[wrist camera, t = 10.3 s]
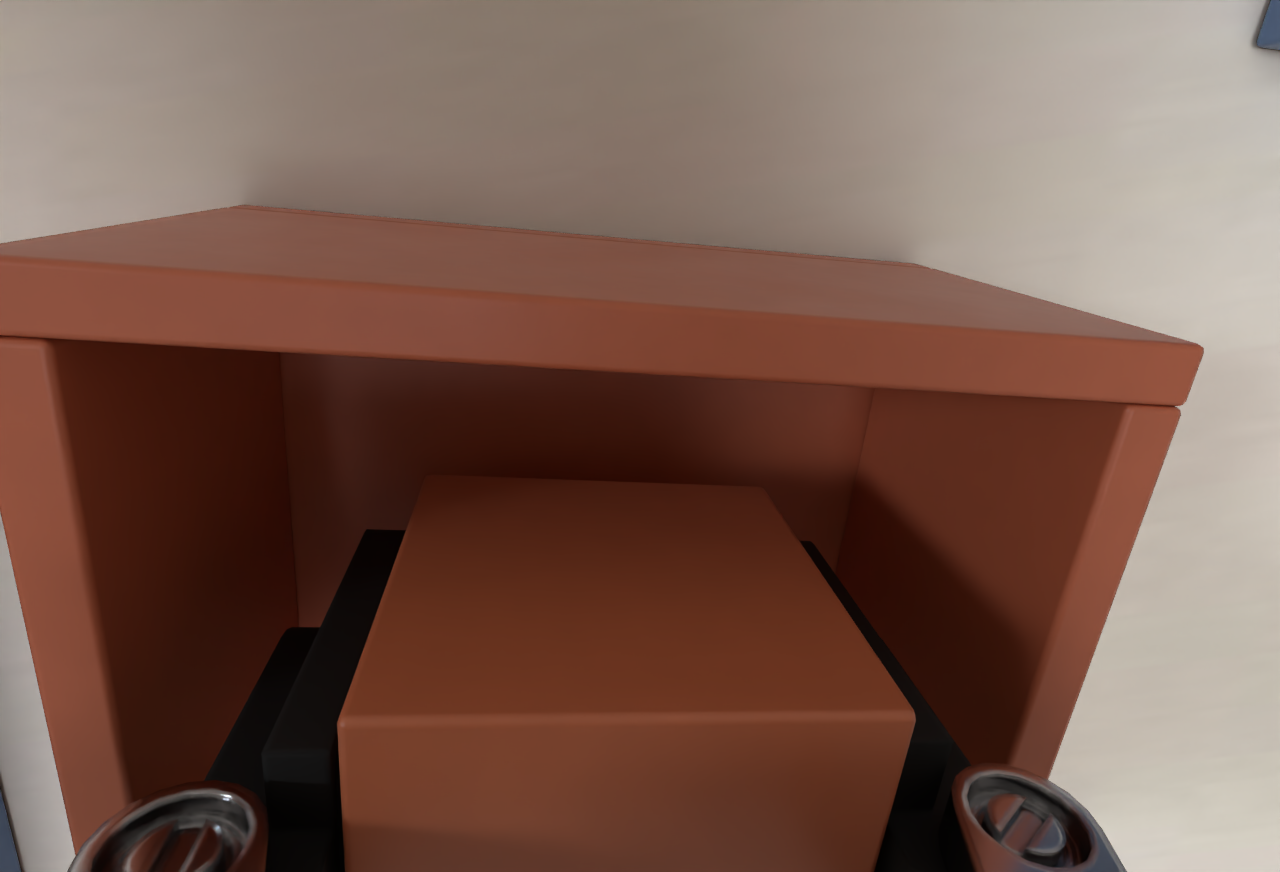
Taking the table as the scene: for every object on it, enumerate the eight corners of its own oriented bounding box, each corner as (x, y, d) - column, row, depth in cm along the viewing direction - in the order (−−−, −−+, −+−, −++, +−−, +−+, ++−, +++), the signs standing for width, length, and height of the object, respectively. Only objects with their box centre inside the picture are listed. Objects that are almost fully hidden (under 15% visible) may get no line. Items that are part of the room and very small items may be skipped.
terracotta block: (425, 472, 9) (334, 721, 5) (764, 484, 10) (923, 715, 6) (425, 751, 11) (355, 1117, 7) (720, 746, 12) (821, 1074, 7)
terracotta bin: (239, 204, 10) (-63, 249, 5) (917, 263, 12) (1210, 346, 7) (287, 772, 14) (135, 1143, 9) (807, 761, 15) (944, 1070, 10)
